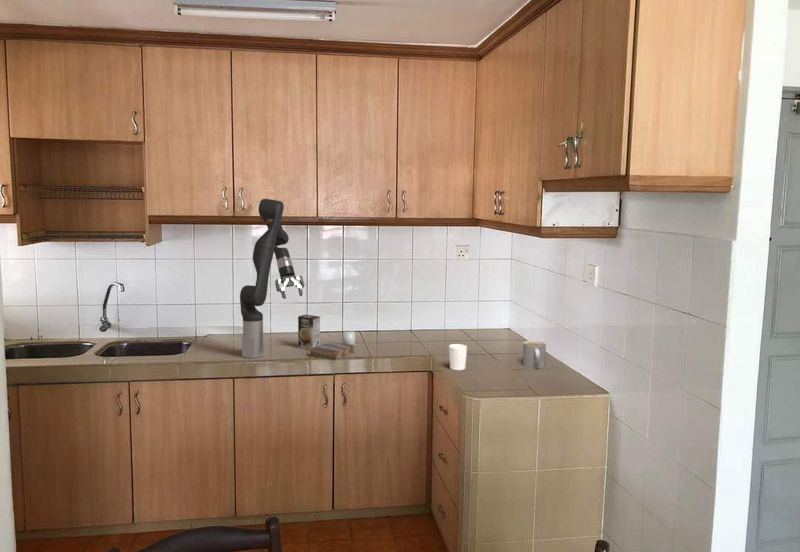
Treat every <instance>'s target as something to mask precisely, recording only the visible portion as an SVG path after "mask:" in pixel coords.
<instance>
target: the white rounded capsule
mask: <svg viewBox="0 0 800 552" xmlns="http://www.w3.org/2000/svg"><path fill="white" fill-rule="evenodd" d="M342 343H344V344H351V345H354V350H355V349H356V331H353V330H343V332H342Z"/></svg>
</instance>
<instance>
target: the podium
mask: <svg viewBox="0 0 800 552" xmlns="http://www.w3.org/2000/svg"><path fill="white" fill-rule="evenodd" d="M354 353H355V349H354V345H351V344H344V343H343V342H335V341H327V342H325V343H322V344H320V345H319V346H316V347H313V348H312V349H311V350H310V357H313V358H318V357H319V359H324V358H326V360H332V361H337V360H339V358H340V359H342V358H344V356H345V357H347V356H349V355H352V354H354ZM346 355H347V356H346ZM341 357H342V358H341Z"/></svg>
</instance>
